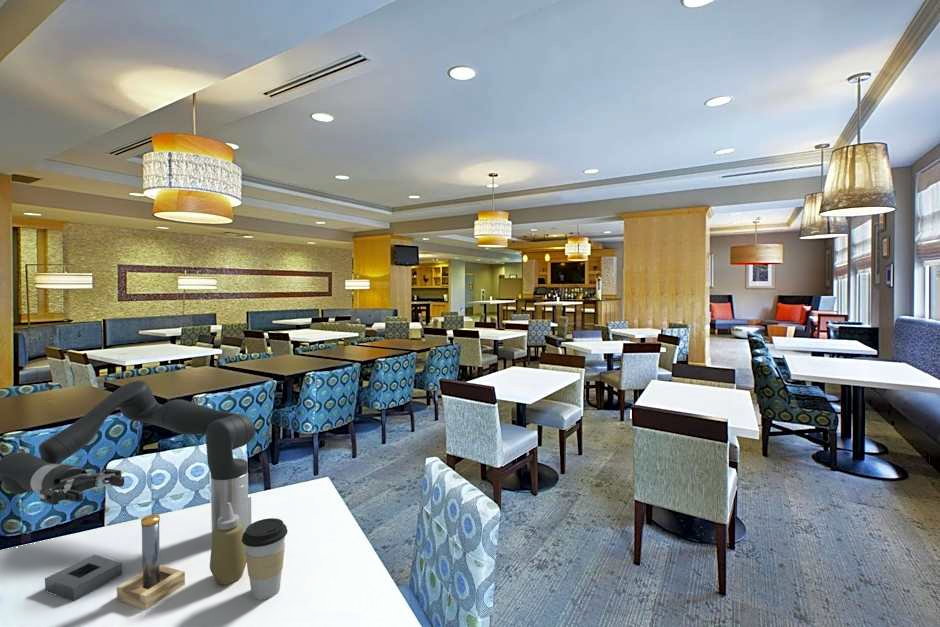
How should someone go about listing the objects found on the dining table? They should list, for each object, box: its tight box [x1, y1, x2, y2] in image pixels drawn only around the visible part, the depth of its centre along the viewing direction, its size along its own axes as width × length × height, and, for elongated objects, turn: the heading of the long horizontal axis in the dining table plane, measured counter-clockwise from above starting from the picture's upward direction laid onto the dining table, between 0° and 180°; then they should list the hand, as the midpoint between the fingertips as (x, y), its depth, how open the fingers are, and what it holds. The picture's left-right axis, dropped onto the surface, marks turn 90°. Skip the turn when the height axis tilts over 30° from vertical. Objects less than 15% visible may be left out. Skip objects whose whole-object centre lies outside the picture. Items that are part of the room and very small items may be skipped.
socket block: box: [44, 554, 123, 602], centre depth 105 cm, size 10×10×3 cm
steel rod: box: [140, 514, 161, 589], centre depth 101 cm, size 3×3×16 cm
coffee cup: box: [242, 517, 288, 601], centre depth 102 cm, size 9×9×15 cm
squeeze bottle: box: [209, 502, 247, 585], centre depth 107 cm, size 8×8×18 cm
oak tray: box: [116, 564, 186, 610], centre depth 102 cm, size 9×9×3 cm
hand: (102, 489), depth 104 cm, fingers open, 8 cm apart
